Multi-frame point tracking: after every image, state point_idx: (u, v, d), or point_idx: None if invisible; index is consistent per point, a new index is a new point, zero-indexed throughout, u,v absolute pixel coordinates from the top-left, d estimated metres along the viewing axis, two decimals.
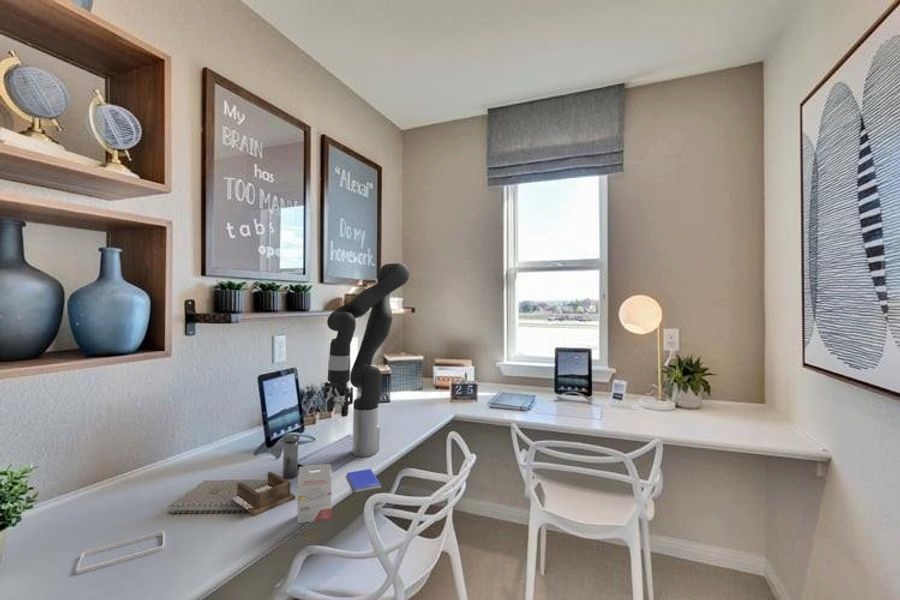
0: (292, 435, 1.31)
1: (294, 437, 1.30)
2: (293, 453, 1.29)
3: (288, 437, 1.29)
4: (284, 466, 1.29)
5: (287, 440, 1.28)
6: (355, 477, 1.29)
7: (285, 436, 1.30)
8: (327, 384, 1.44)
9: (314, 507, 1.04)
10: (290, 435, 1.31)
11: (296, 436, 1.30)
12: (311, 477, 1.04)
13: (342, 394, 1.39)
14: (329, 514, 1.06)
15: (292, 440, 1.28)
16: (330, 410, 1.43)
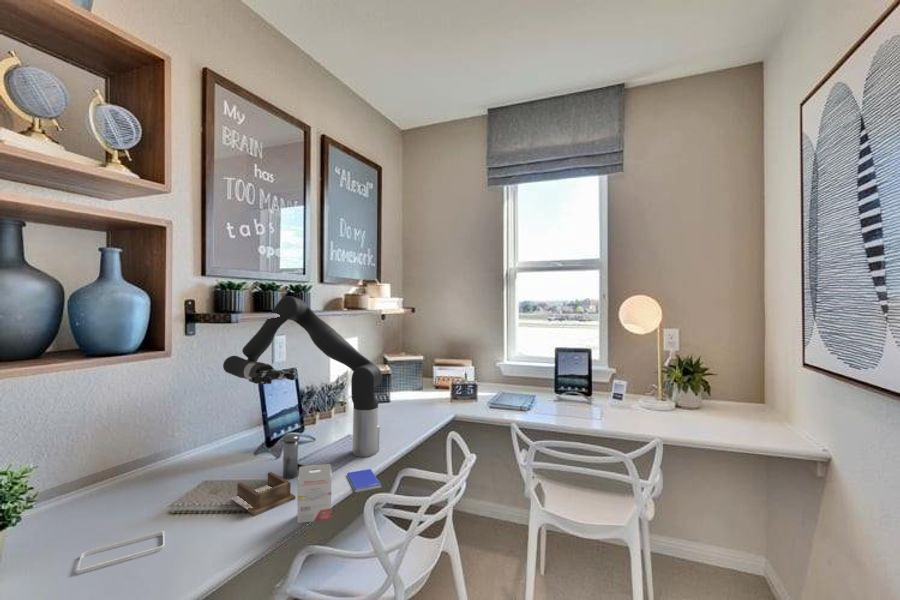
0: (292, 435, 1.31)
1: (294, 437, 1.30)
2: (293, 453, 1.29)
3: (288, 437, 1.29)
4: (284, 466, 1.29)
5: (287, 440, 1.28)
6: (355, 477, 1.29)
7: (285, 436, 1.30)
8: None
9: (314, 507, 1.04)
10: (290, 435, 1.31)
11: (296, 436, 1.30)
12: (311, 477, 1.04)
13: None
14: (329, 514, 1.06)
15: (292, 440, 1.28)
16: (291, 377, 1.43)
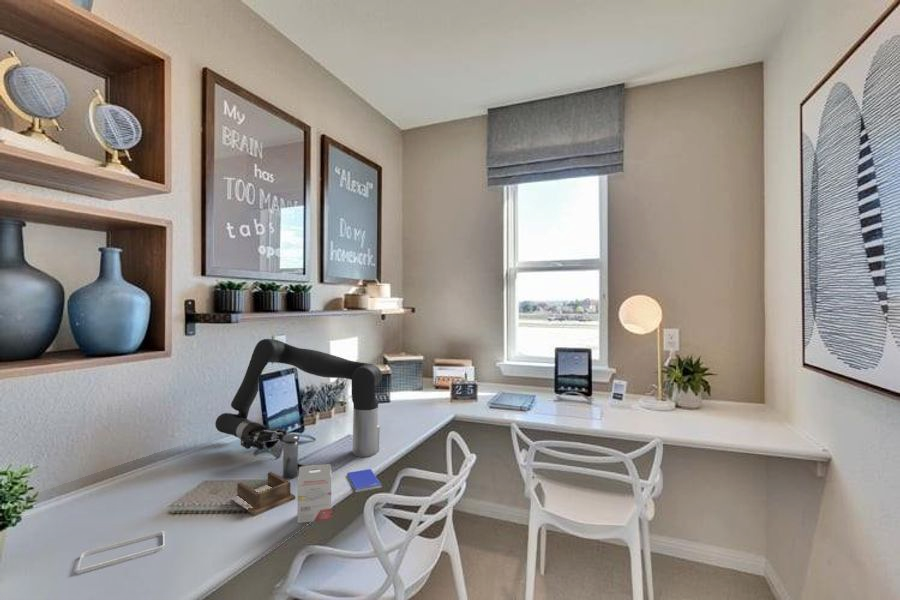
0: (292, 435, 1.31)
1: (294, 437, 1.30)
2: (293, 453, 1.29)
3: (288, 437, 1.29)
4: (284, 466, 1.29)
5: (287, 440, 1.28)
6: (355, 477, 1.28)
7: (285, 436, 1.30)
8: None
9: (314, 507, 1.04)
10: (290, 435, 1.31)
11: (296, 436, 1.30)
12: (311, 477, 1.04)
13: None
14: (329, 514, 1.06)
15: (292, 440, 1.28)
16: None
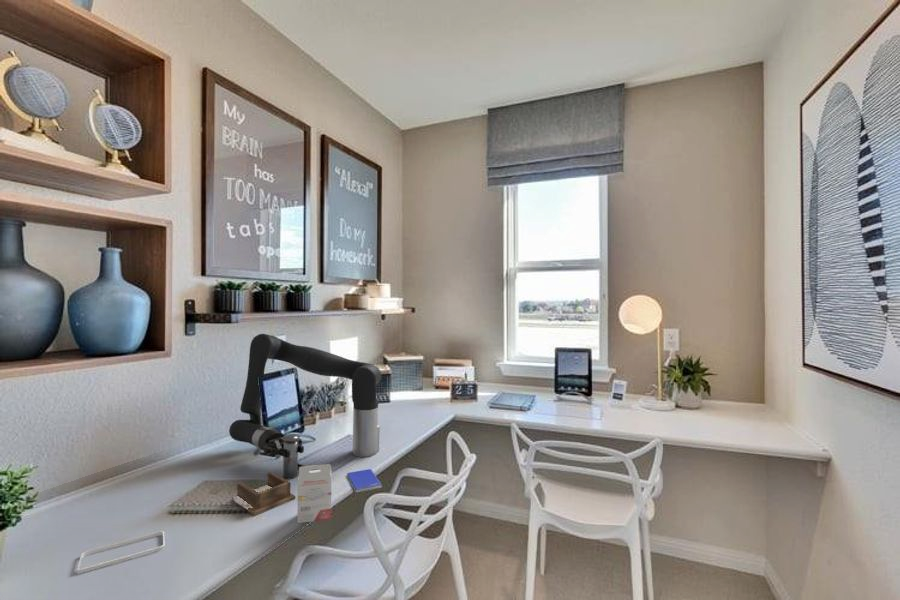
0: (292, 435, 1.31)
1: (294, 437, 1.30)
2: (293, 453, 1.29)
3: (288, 437, 1.29)
4: (284, 466, 1.29)
5: (287, 440, 1.28)
6: (355, 477, 1.28)
7: (285, 436, 1.30)
8: None
9: (314, 507, 1.04)
10: (290, 435, 1.31)
11: (296, 436, 1.30)
12: (311, 477, 1.04)
13: (276, 448, 1.32)
14: (329, 514, 1.06)
15: (292, 440, 1.28)
16: (300, 450, 1.31)
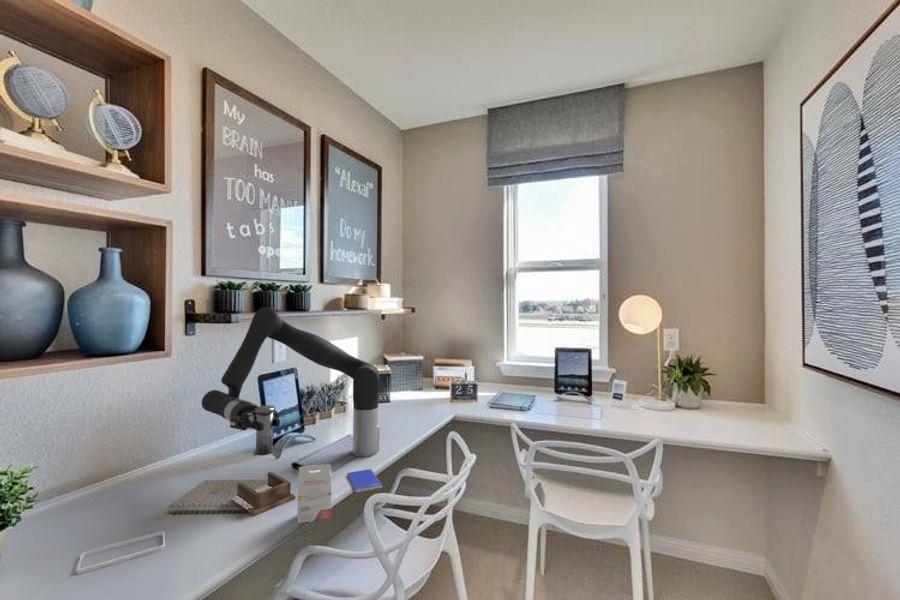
0: (267, 406, 1.17)
1: (269, 408, 1.15)
2: (267, 426, 1.14)
3: (261, 409, 1.14)
4: (257, 441, 1.14)
5: (260, 411, 1.13)
6: (355, 477, 1.28)
7: (259, 407, 1.16)
8: None
9: (314, 507, 1.04)
10: (264, 406, 1.17)
11: (271, 407, 1.16)
12: (311, 477, 1.04)
13: (249, 421, 1.17)
14: (329, 514, 1.06)
15: (266, 411, 1.13)
16: (275, 423, 1.16)
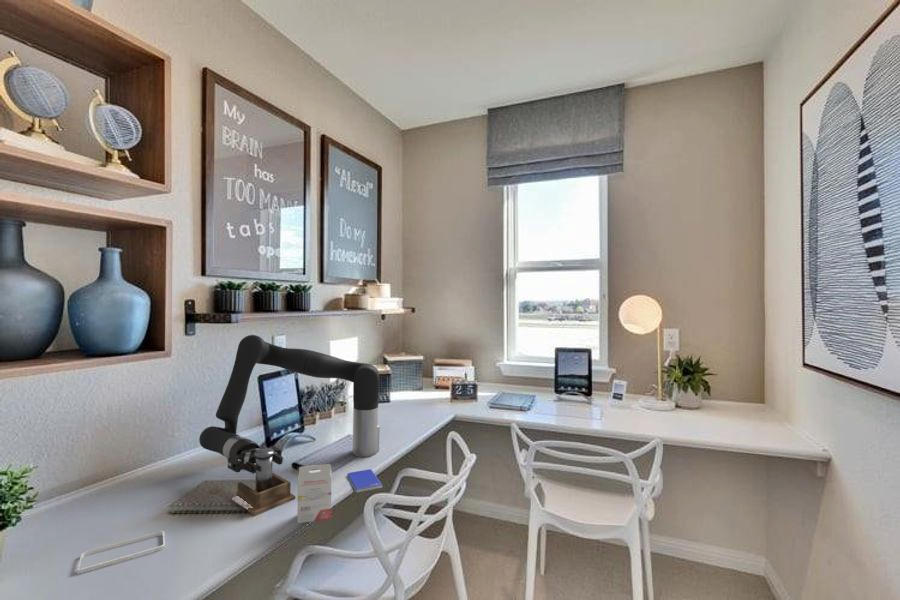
0: (266, 450, 1.16)
1: (268, 452, 1.15)
2: (266, 470, 1.14)
3: (260, 453, 1.14)
4: (256, 485, 1.13)
5: (259, 456, 1.13)
6: (356, 477, 1.28)
7: (258, 451, 1.15)
8: None
9: (314, 507, 1.04)
10: (263, 450, 1.16)
11: (270, 451, 1.15)
12: (311, 477, 1.04)
13: None
14: (329, 514, 1.06)
15: (265, 456, 1.13)
16: (279, 461, 1.17)
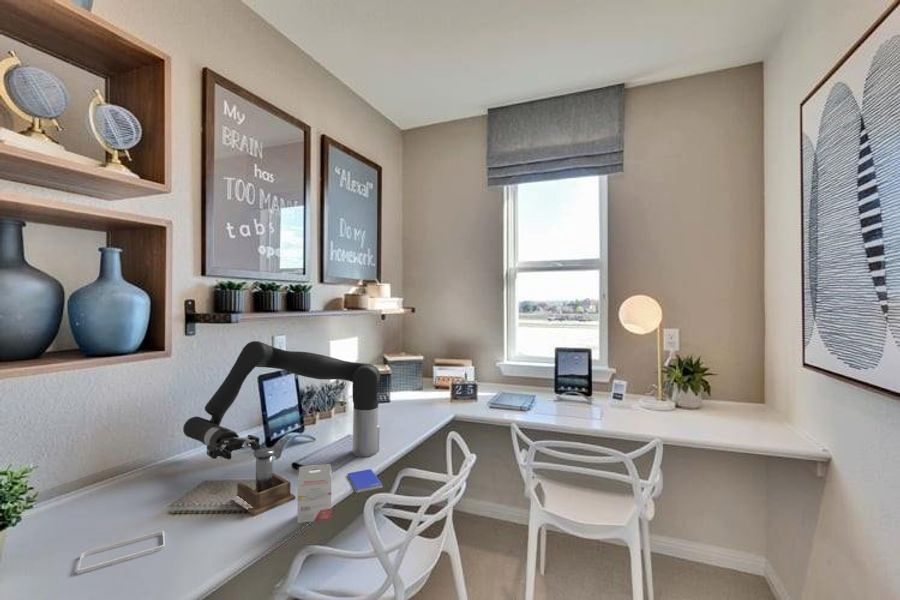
0: (266, 450, 1.16)
1: (268, 452, 1.15)
2: (267, 470, 1.14)
3: (260, 453, 1.14)
4: (256, 485, 1.14)
5: (260, 455, 1.13)
6: (356, 477, 1.28)
7: (258, 451, 1.15)
8: (247, 441, 1.33)
9: (314, 507, 1.04)
10: (264, 450, 1.16)
11: (270, 451, 1.16)
12: (311, 477, 1.04)
13: None
14: (329, 514, 1.06)
15: (265, 455, 1.13)
16: (256, 448, 1.26)
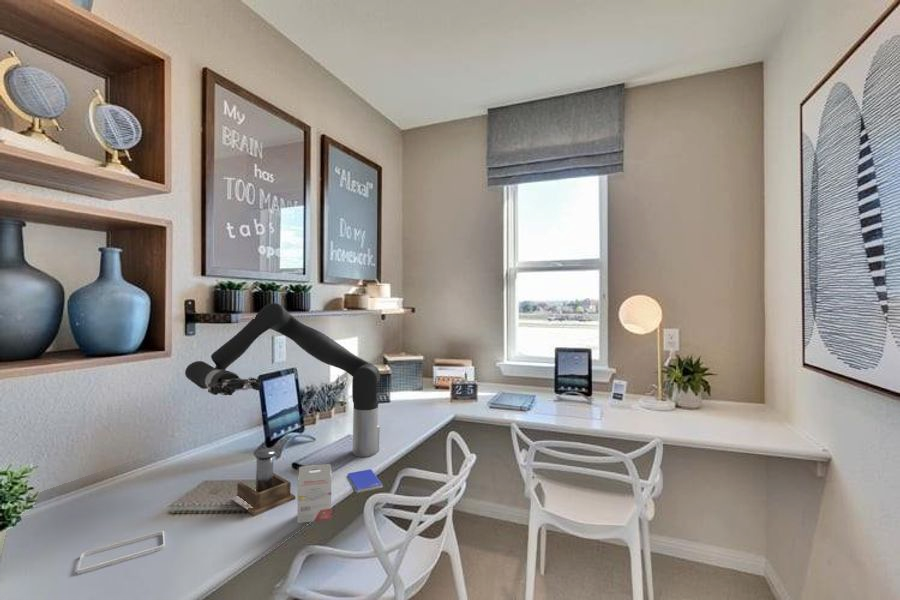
0: (267, 450, 1.16)
1: (269, 452, 1.14)
2: (267, 470, 1.14)
3: (261, 453, 1.14)
4: (257, 485, 1.13)
5: (261, 456, 1.12)
6: (356, 477, 1.28)
7: (259, 451, 1.15)
8: (248, 384, 1.33)
9: (314, 507, 1.04)
10: (264, 450, 1.16)
11: (271, 451, 1.15)
12: (311, 477, 1.04)
13: None
14: (329, 514, 1.06)
15: (266, 456, 1.13)
16: (257, 387, 1.26)
